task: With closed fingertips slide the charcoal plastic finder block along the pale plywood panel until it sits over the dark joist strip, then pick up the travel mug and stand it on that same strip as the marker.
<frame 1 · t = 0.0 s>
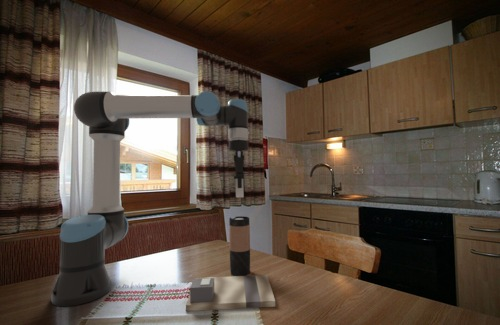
hand: (239, 196, 95), 28 cm above the table, fingers open, 13 cm apart
finder: (202, 289, 71), point 4 cm above the table, slide at 0.0 cm
travel mug: (240, 273, 92), on the table
panel: (231, 293, 76), on the table
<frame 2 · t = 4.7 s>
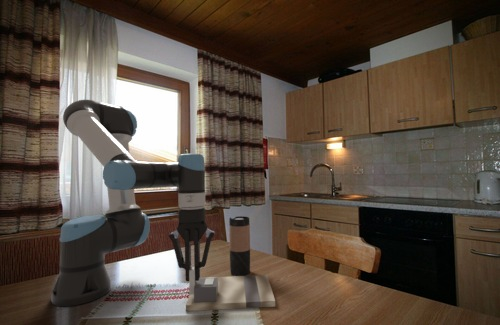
hand: (192, 292, 70), 3 cm above the table, fingers closed
finder: (206, 289, 71), point 4 cm above the table, slide at 1.0 cm, touching gripper
everything else where it was.
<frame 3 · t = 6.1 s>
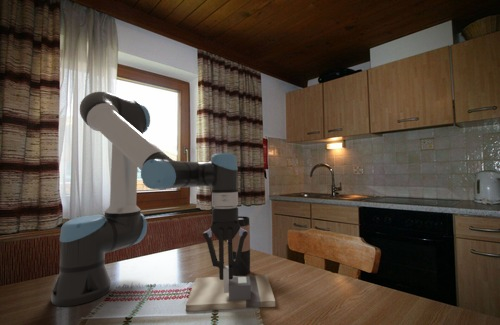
hand: (226, 290, 71), 3 cm above the table, fingers closed
finder: (239, 287, 71), point 4 cm above the table, slide at 10.4 cm, touching gripper
everything else where it was.
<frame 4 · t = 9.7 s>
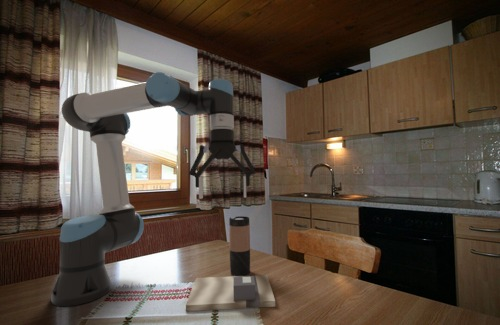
hand: (223, 197, 77), 29 cm above the table, fingers open, 13 cm apart
finder: (244, 287, 71), point 4 cm above the table, slide at 11.7 cm
everything else where it was.
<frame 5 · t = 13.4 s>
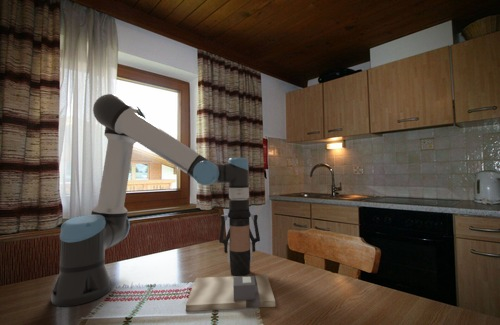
hand: (240, 261, 92), 4 cm above the table, fingers closed on travel mug, 8 cm apart
travel mug: (240, 273, 92), on the table, touching gripper
everything else where it was.
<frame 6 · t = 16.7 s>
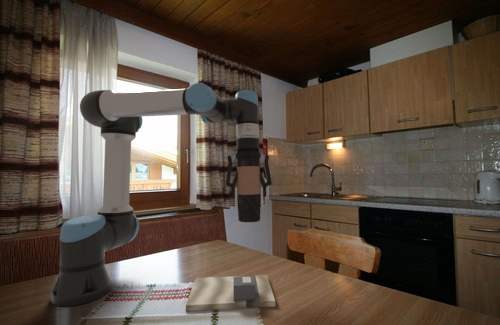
hand: (249, 207, 82), 25 cm above the table, fingers closed on travel mug, 8 cm apart
travel mug: (249, 221, 82), point 21 cm above the table, touching gripper
everything else where it was.
when the fingers open (7 cm above the table, at t = 20.2 s): travel mug drops 1 cm, resting on panel.
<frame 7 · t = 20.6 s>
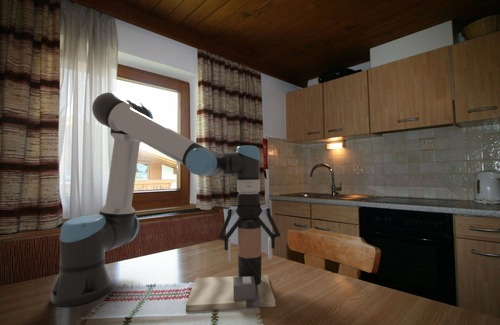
hand: (249, 259, 81), 9 cm above the table, fingers open, 12 cm apart
travel mug: (250, 282, 80), point 1 cm above the table, touching panel
everything else where it was.
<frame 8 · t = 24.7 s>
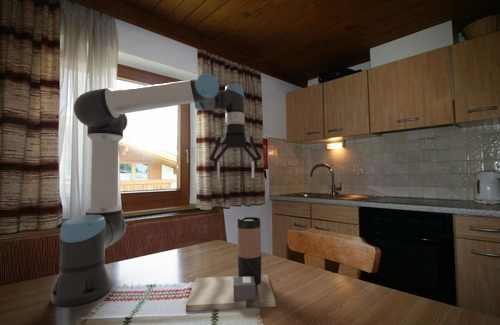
hand: (236, 178, 98), 35 cm above the table, fingers open, 13 cm apart
nothing on the table moved.
at the end: finder slide at 11.7 cm; travel mug inside the target area (0.1 cm from its centre), point 1.3 cm above the table; travel mug tilted 0°; travel mug touching panel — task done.
